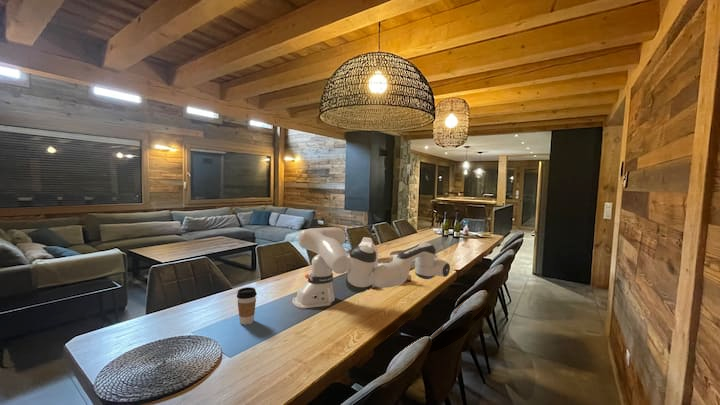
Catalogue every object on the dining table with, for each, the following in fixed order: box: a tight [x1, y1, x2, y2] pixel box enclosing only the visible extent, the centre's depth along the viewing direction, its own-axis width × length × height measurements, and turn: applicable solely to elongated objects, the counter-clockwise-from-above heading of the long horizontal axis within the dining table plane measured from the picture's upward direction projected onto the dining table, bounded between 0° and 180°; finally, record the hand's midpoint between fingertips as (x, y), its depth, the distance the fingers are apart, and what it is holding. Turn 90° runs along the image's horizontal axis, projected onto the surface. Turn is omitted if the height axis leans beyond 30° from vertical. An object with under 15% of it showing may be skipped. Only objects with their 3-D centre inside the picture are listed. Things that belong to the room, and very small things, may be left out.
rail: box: [370, 274, 412, 290], centre depth 193 cm, size 30×10×4 cm, turn 121°
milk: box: [358, 236, 379, 266], centre depth 206 cm, size 12×12×26 cm
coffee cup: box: [236, 287, 257, 326], centre depth 135 cm, size 8×8×15 cm
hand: (409, 256), depth 182 cm, fingers open, 8 cm apart
